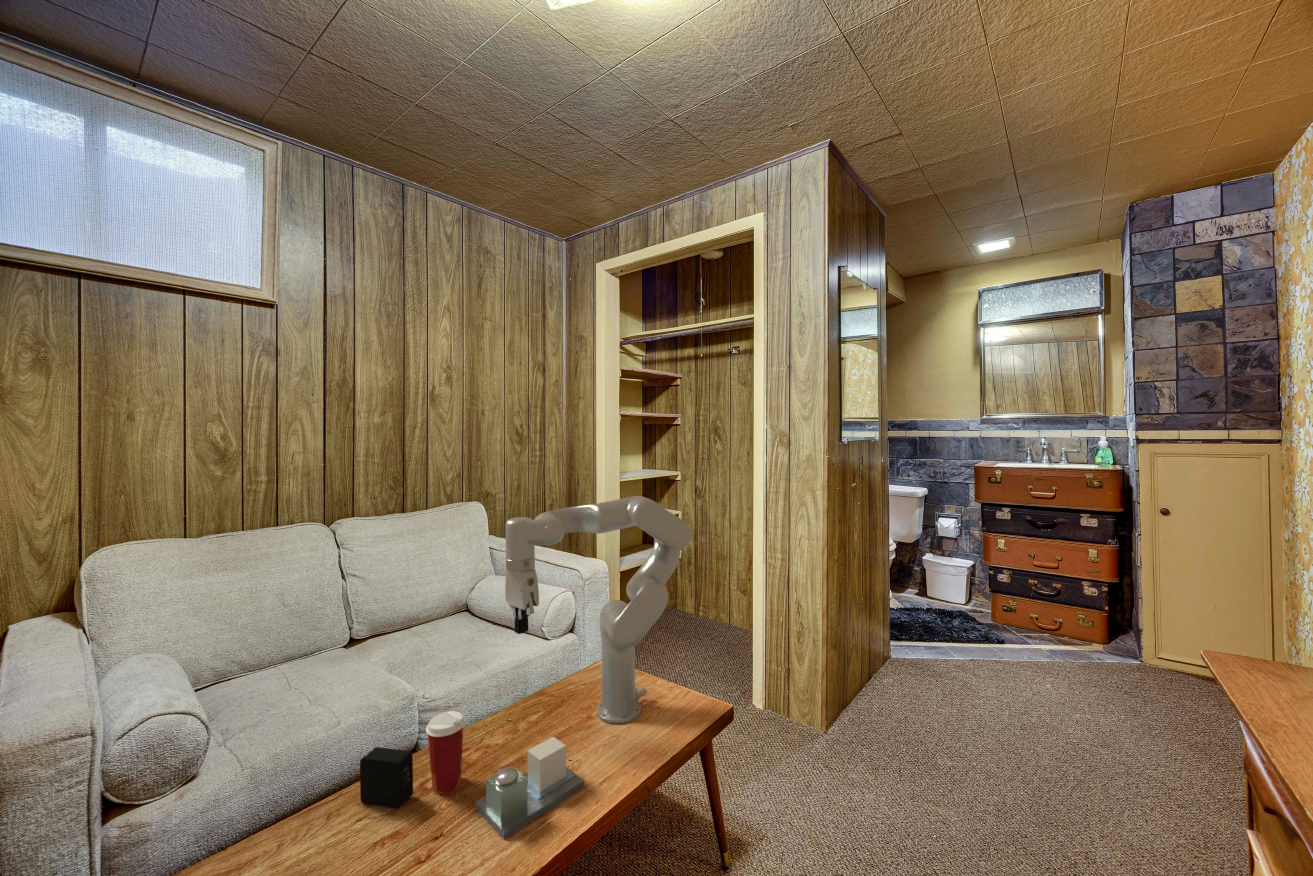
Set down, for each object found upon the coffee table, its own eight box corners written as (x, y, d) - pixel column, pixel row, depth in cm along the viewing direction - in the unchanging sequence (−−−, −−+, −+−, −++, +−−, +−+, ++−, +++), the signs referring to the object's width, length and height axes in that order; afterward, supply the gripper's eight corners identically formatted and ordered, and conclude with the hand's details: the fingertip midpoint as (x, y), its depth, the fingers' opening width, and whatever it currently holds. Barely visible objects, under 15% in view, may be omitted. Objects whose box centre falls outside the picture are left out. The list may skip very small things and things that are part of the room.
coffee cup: (473, 776, 117) (472, 713, 117) (448, 801, 109) (447, 733, 109) (444, 769, 120) (443, 707, 120) (418, 792, 112) (417, 726, 112)
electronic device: (400, 810, 107) (399, 763, 107) (360, 803, 109) (359, 758, 109) (413, 796, 111) (412, 751, 111) (374, 790, 113) (373, 746, 113)
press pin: (510, 791, 108) (510, 764, 108) (521, 801, 105) (521, 773, 105) (491, 802, 105) (491, 774, 105) (502, 813, 102) (502, 784, 102)
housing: (553, 766, 118) (553, 736, 118) (566, 775, 115) (565, 745, 115) (527, 781, 113) (527, 750, 113) (540, 791, 110) (539, 760, 110)
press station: (553, 763, 122) (553, 730, 122) (584, 786, 113) (583, 751, 113) (475, 808, 107) (474, 771, 107) (504, 839, 99) (503, 799, 99)
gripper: (548, 566, 132) (549, 635, 132) (518, 557, 142) (519, 621, 142) (523, 571, 127) (524, 644, 127) (493, 562, 137) (494, 628, 137)
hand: (521, 631), depth 135 cm, fingers closed
